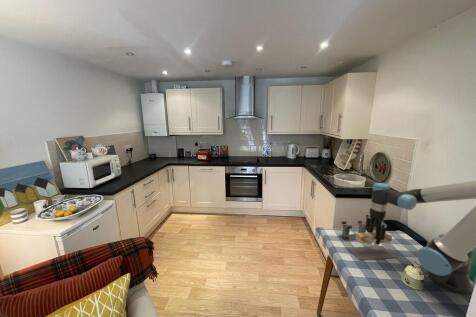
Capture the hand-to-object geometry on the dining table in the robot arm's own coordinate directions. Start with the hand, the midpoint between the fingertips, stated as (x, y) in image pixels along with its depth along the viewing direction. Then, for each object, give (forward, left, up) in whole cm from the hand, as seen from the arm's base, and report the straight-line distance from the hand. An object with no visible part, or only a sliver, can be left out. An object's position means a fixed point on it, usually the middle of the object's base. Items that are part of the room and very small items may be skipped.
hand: (372, 245), depth 117 cm
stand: (0, -16, -5) cm, 17 cm away
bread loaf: (0, 0, +4) cm, 4 cm away
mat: (0, 0, -5) cm, 5 cm away
